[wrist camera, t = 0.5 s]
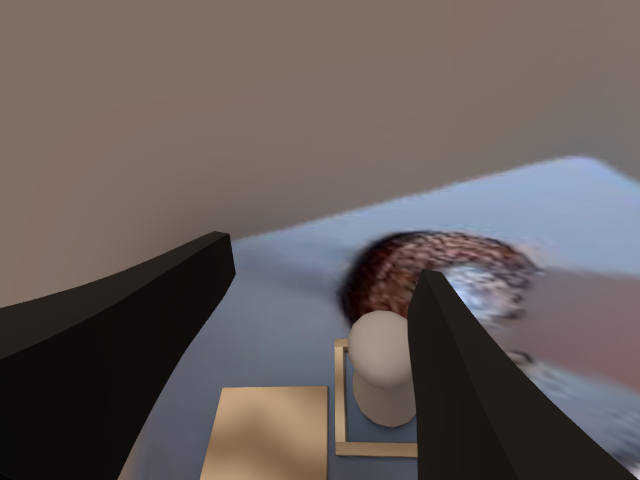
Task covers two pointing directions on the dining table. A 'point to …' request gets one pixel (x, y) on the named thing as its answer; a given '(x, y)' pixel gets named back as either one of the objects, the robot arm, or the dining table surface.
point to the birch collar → (341, 420)
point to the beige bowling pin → (382, 368)
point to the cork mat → (269, 435)
